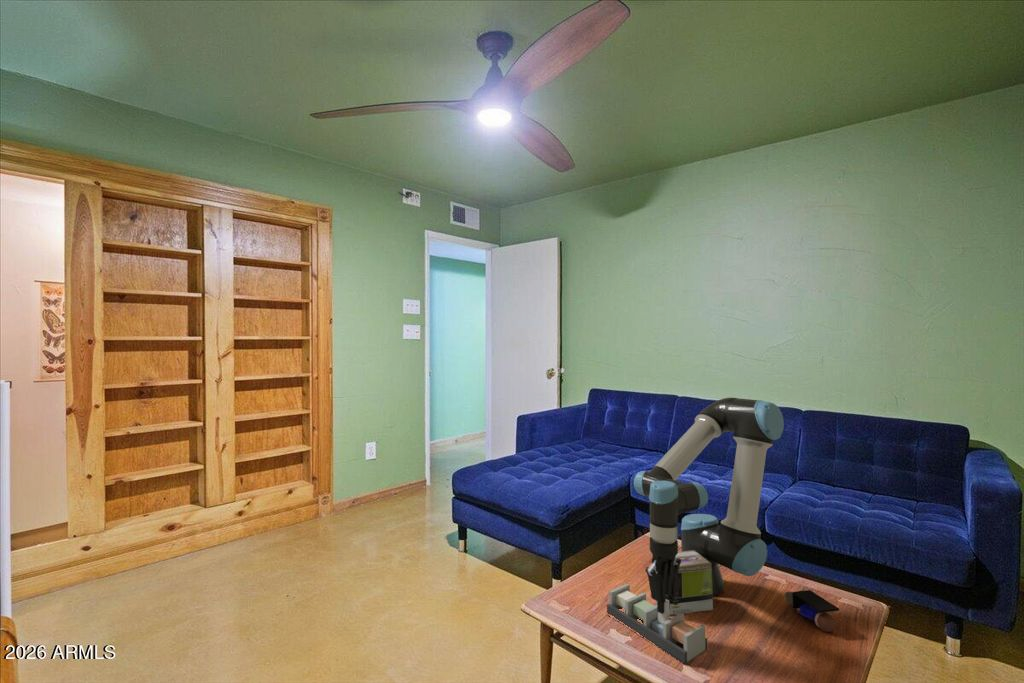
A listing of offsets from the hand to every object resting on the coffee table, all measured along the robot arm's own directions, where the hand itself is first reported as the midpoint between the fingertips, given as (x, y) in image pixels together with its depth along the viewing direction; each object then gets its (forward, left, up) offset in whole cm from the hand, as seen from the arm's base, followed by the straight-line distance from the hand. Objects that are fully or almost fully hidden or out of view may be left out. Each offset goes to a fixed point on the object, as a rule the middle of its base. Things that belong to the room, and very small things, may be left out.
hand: (663, 622), depth 132 cm
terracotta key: (0, +7, -1) cm, 7 cm away
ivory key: (0, -13, -1) cm, 13 cm away
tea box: (-19, -7, -4) cm, 20 cm away
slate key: (0, 0, -3) cm, 3 cm away
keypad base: (0, -3, -4) cm, 5 cm away
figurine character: (-43, +20, -4) cm, 48 cm away
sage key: (0, -7, -1) cm, 7 cm away
